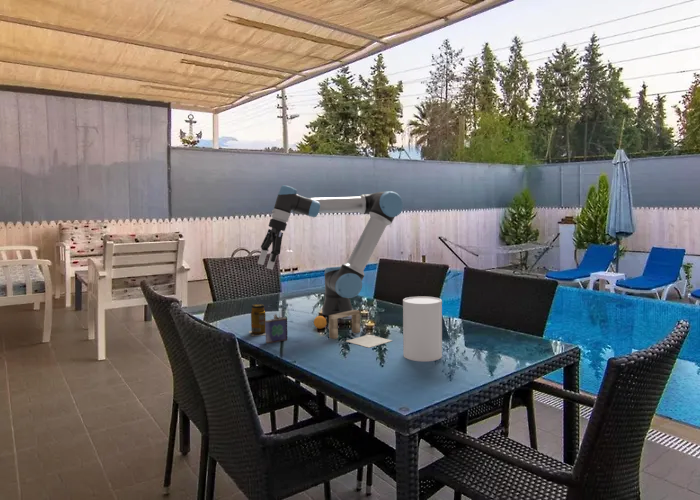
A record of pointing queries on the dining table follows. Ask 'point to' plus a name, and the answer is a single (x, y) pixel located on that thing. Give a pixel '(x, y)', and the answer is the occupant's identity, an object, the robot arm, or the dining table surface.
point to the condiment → (258, 320)
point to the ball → (320, 322)
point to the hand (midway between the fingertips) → (264, 266)
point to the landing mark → (368, 341)
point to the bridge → (333, 318)
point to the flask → (276, 329)
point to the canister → (422, 328)
